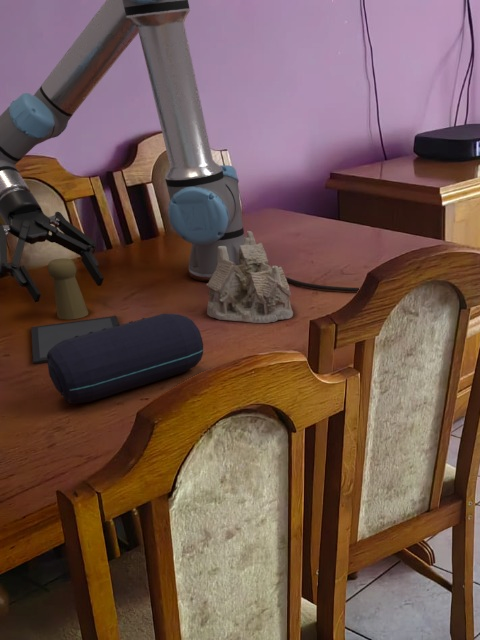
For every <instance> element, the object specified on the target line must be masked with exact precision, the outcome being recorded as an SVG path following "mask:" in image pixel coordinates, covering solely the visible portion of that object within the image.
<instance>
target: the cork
mask: <svg viewBox="0 0 480 640" xmlns="http://www.w3.org/2000/svg"><path fill="white" fill-rule="evenodd" d="M47 271H48V274H49V276H50V277H52V280H53V287H54V288H53V289H54V297H55V298H54V299H55V305H56V306H55V307H56V316H57V318H58V319H60V320H63V321H65V320H66V321H67V320H69V321H70V320H78V319H83V318H84V317H87V316H88V315H89V310H88V307H87V304H86V302H85V300H84V296H83V294H82V292H81V289H80V286H79V283H78V280H77V278H76V273H77V267H76V264H75V262H74V261H73V260H72V259H70V258H56V259H53V260H51V261H49V262H48V264H47Z"/></svg>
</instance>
